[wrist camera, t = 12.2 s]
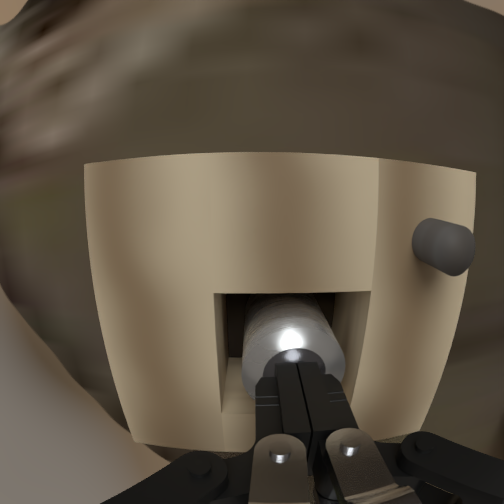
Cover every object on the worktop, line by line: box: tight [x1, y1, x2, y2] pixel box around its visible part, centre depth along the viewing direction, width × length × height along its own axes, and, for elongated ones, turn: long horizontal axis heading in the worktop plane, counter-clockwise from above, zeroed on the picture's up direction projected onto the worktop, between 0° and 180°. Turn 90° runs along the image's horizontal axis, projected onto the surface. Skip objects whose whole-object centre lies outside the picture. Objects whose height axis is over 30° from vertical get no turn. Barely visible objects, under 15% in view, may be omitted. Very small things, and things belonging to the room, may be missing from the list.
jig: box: [84, 152, 476, 452], centre depth 13 cm, size 16×14×7 cm
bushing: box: [241, 293, 345, 400], centre depth 14 cm, size 4×4×6 cm
